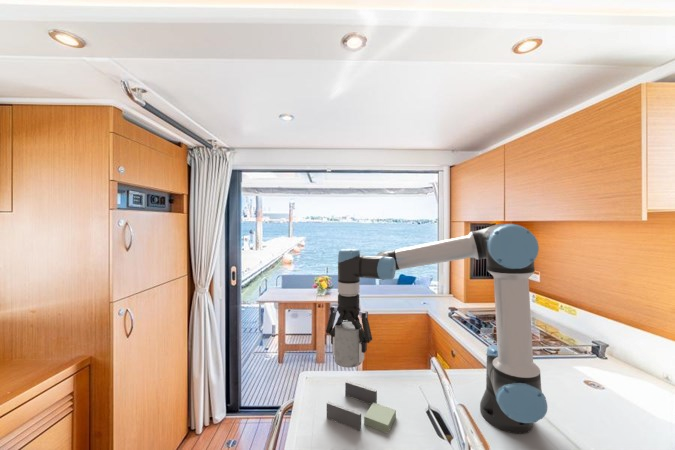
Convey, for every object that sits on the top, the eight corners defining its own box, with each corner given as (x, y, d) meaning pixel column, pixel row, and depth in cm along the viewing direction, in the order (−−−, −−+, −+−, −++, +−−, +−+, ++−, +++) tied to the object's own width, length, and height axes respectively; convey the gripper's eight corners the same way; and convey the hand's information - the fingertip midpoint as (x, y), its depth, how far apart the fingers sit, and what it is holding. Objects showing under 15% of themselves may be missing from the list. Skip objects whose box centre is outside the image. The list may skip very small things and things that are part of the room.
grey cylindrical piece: (360, 369, 93) (360, 332, 93) (331, 365, 95) (331, 329, 95) (363, 355, 103) (363, 321, 102) (337, 352, 105) (338, 319, 104)
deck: (395, 417, 94) (395, 409, 94) (387, 433, 87) (388, 425, 87) (373, 409, 98) (373, 402, 98) (364, 424, 91) (364, 416, 91)
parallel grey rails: (376, 403, 101) (376, 390, 101) (359, 431, 88) (359, 415, 88) (346, 393, 107) (346, 380, 107) (326, 417, 94) (326, 403, 94)
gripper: (382, 295, 96) (382, 360, 97) (327, 287, 107) (326, 345, 108) (374, 300, 90) (373, 370, 90) (316, 291, 101) (315, 354, 101)
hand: (348, 357), depth 99 cm, fingers closed on grey cylindrical piece, 9 cm apart
